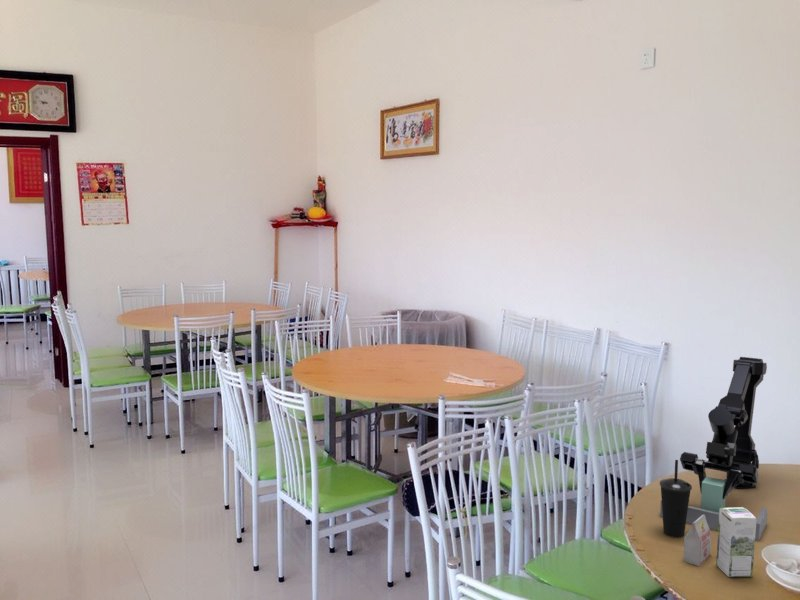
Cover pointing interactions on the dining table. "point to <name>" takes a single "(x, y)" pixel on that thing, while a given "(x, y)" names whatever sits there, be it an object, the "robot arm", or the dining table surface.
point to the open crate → (713, 519)
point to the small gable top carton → (697, 542)
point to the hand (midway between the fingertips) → (712, 495)
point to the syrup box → (736, 542)
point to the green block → (712, 494)
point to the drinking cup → (674, 504)
